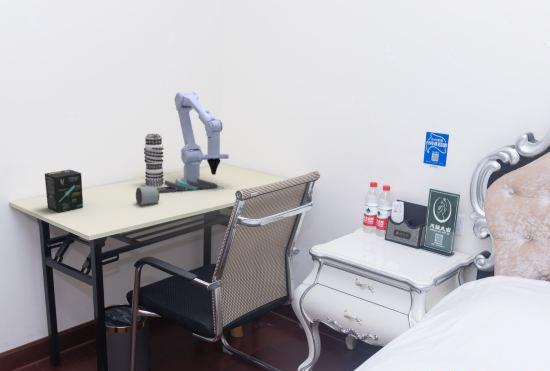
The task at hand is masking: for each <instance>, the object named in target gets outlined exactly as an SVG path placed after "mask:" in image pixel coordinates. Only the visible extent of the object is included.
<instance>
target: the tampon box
mask: <svg viewBox="0 0 550 371" xmlns="http://www.w3.org/2000/svg"><path fill="white" fill-rule="evenodd" d="M44 180H45V181H44V182H45V183H44V184H45V193H46V203H47V209H49V210H52V211H53V212H57V214H58V213H60V214H61V213H64V212H69V211H73V210H77V209H81V208H82V209H83V208H84V201H83V198H84V197H83V184H82V183H83V180H82V173H81V172H79V171H76V170H72V169H64V170H58V171H52V172H45V173H44Z"/></svg>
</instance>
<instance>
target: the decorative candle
mask: <svg viewBox="0 0 550 371" xmlns="http://www.w3.org/2000/svg"><path fill="white" fill-rule="evenodd" d="M144 139H145V141H144V142H145V144H144V148H143V154H144V163H145V172H144V174H145V175H144V176H145V178H144V181H145V183H144V184H145V187H156V188H160V187H164V182H165V180H164V179H165V178H164V170H163V169H164V168H163V164H164V159H162V158H164V152H163V150H164V149H165V148H164V145H163V141H162V139H163V137H162V136H161V135H160V134H159V133H147V134H146V136H145V137H144Z"/></svg>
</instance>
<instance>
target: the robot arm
mask: <svg viewBox="0 0 550 371" xmlns="http://www.w3.org/2000/svg"><path fill="white" fill-rule="evenodd" d="M174 103H175V104H174V105H175V109H176V111H177V114H178V118H179V122H180V128H181V134H182V137H183V142H184V146H183V147H182V148H181V149H180V154H181V155H180V156H181V157H180V158H181V161H182V163H183V164H184V165H183V177H182V178H181V181H183V182H186V181H187V179H188V180H192V181H195V182H196V181H197V179H201V177H200V176H201V173H200V171H201V169H200V168H201V167H200V164H202V162H203V161H207V164H208V166H209V168H210V174H211V175H213V176H214V175H216V174H217V169H218V167H219V165H220V163H221V160H223V159H227V160H229V158H230V157H229V156H230V154H228V153H221V152H220V150H221V146H220V145H221V142H220V141H221V132H222V130H223V122H222V121H221V119H218V118H215V116H213V115H212V113H211V112H210V110H209V109H205V108H204V107H203V105H202V103H201V102H200V101H199V96H198V94H197V93H196V92H194V91H191V92H177V93H176V94H175V97H174ZM192 110H194V111H195V112H196V113H197V114H198V119H199V120H200V121H201V123H202V124H203V125H204V130H205V131H206V134H205V135H206V137H207V154H204V153H203V151H202V149H201V148H202V147H201V146H200V145H198V143H196V139H195V135H194V130H193V125H192V120H191V116H190V112H191V111H192Z"/></svg>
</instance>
